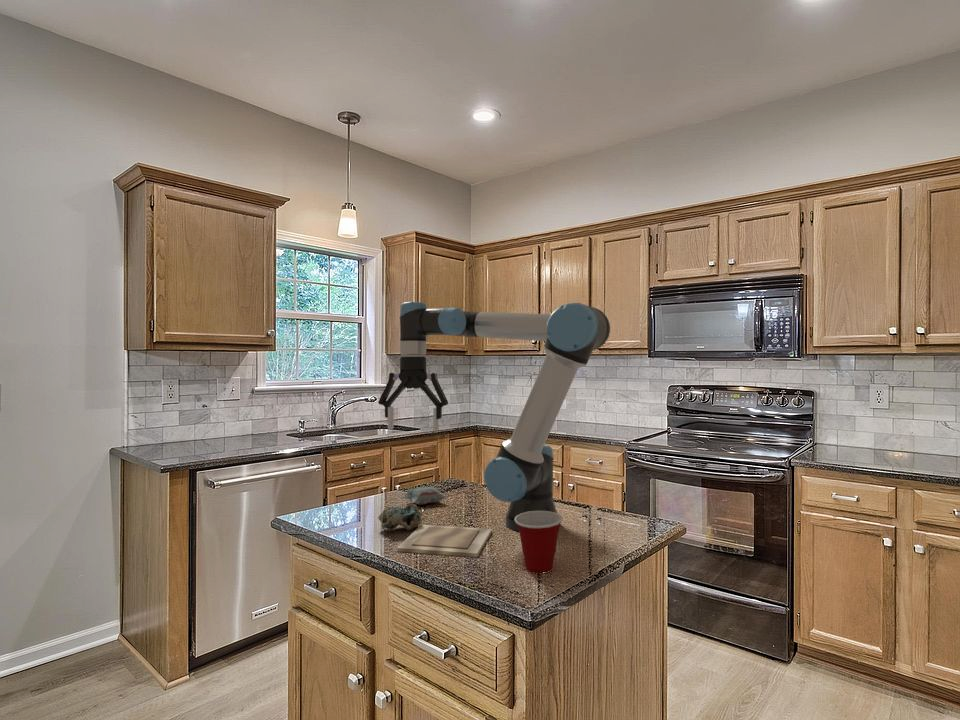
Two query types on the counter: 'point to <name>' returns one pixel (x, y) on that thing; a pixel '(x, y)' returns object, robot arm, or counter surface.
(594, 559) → the counter surface
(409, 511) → the mineral specimen
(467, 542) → the base plate
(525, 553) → the plastic cup
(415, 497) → the packaged food
